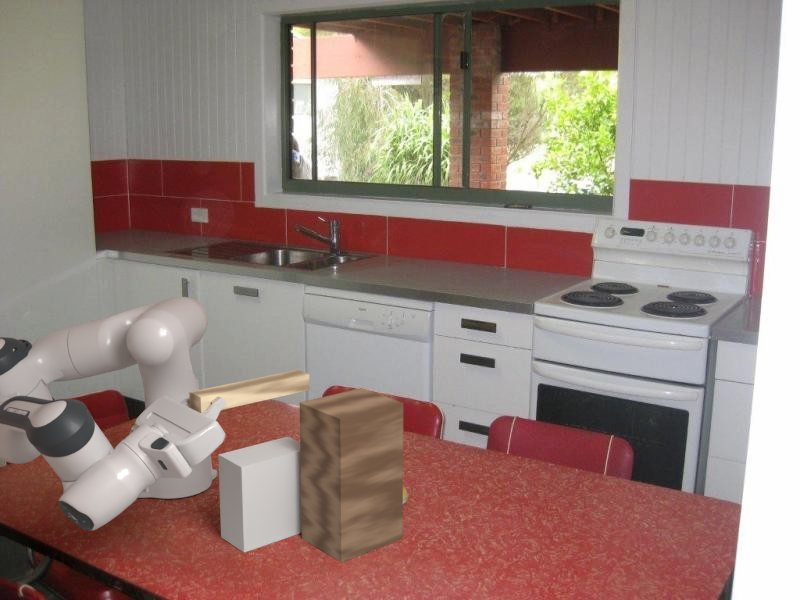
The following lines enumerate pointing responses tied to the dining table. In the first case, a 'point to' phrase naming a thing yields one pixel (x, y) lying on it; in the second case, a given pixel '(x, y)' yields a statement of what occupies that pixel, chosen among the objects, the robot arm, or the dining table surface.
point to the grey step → (260, 493)
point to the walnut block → (351, 472)
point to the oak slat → (251, 390)
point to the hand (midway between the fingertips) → (215, 396)
